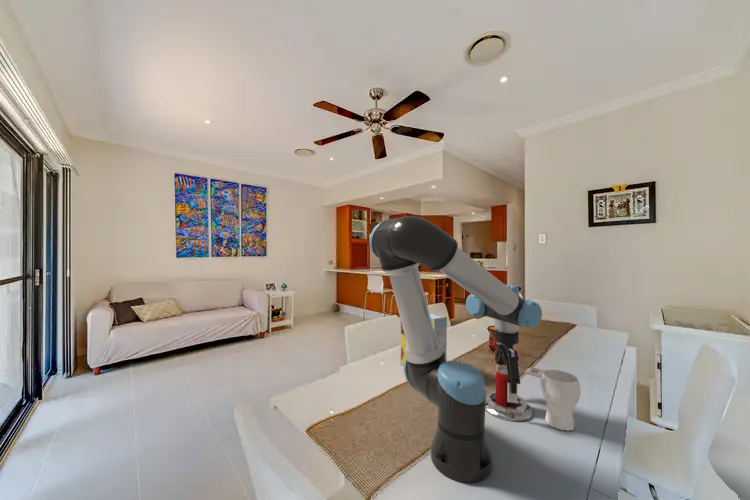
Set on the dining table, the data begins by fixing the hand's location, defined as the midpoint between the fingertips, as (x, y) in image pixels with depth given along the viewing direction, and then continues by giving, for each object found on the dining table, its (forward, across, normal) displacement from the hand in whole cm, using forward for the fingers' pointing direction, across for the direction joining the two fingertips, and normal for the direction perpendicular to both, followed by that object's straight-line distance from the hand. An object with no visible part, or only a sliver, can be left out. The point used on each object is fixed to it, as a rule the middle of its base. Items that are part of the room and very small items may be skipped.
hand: (506, 392), depth 100 cm
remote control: (+6, +30, -23) cm, 39 cm away
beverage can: (+5, 0, 0) cm, 5 cm away
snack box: (+6, +27, +28) cm, 39 cm away
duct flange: (+5, 0, 0) cm, 5 cm away
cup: (+6, -7, -14) cm, 17 cm away
